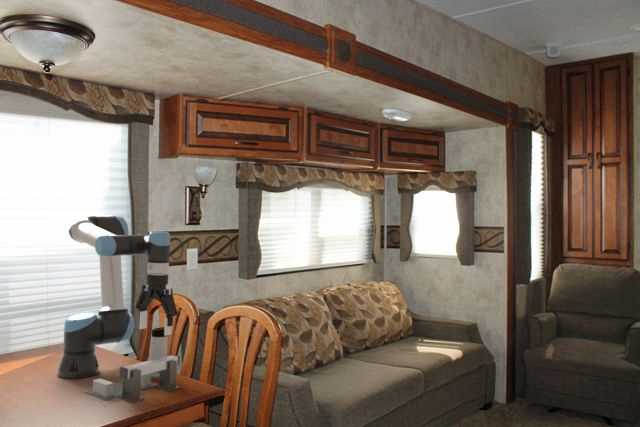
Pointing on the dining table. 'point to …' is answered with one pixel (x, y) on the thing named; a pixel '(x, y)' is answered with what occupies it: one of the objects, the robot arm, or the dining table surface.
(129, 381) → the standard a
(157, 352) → the travel mug
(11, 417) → the dining table surface
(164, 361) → the rail
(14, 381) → the dining table surface
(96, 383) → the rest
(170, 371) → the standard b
